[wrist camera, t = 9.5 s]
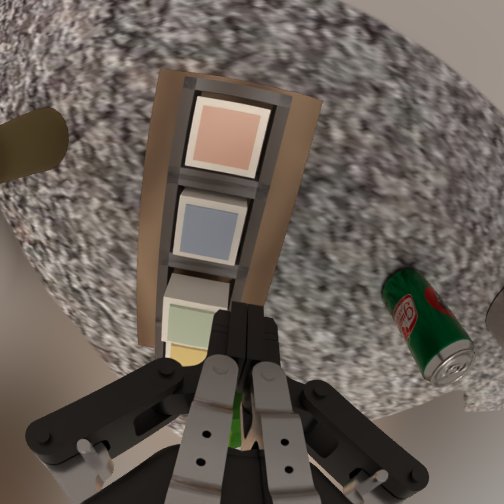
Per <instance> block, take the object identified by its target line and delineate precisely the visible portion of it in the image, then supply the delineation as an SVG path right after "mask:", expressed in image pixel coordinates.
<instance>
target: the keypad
mask: <svg viewBox="0 0 504 504" xmlns="http://www.w3.org/2000/svg"><path fill="white" fill-rule="evenodd" d="M197 96H200V97H208V98H214V99H220V100H226V101H231V102H237V103H242V104H247V105H251V106H256V107H261V108H265V109H269V110H271V111H270V115H269V119H268V123H267V127H266V131H265V136H264V140H263V144H262V148H261V152H260V156H259V161H258V165H257V169H256V173H255V177H254V178H250V177H245V176H240V175H235V174H230V173H225V172H220V171H214V170H209V169H203V168H198V167H192V166H186V165H185V160H186V154H187V149H188V143H189V137H190V132H191V127H192V121H193V116H194V111H195V106H196V101H197ZM322 102H323V100H320V99H316V98H313V97H309V96H306V95H302V94H298V93H295V92H291V91H287V90H283V89H279V88H275V87H271V86H266V85H262V84H257V83H252V82H247V81H242V80H237V79H231V78H226V77H220V76H213V75H207V74H200V73H192V72H184V71H175V70H164V69H160V73H159V78H158V82H157V87H156V93H155V98H154V103H153V109H152V115H151V121H150V128H149V134H148V141H147V148H146V156H145V164H144V173H143V183H142V193H141V205H140V218H139V234H138V257H137V333H138V345H142V346H146V347H151V348H155V360H156V359H158V358H163V357H165V355H166V342H164V341H161V338H162V315H163V298H164V294H165V291H166V288H167V286H168V283H169V280H170V278H171V275H172V273H176V274H181V275H186V276H191V277H197V278H202V279H207V280H213V281H218V282H224V283H229V295H228V308H227V311H230V306H231V302H232V301H237V302H243V303H247V304H248V303H249V304H255V305H261V306H263V307H264V304H265V301H266V298H267V294H268V291H269V288H270V285H271V281H272V278H273V275H274V272H275V268H276V265H277V262H278V258H279V255H280V252H281V248H282V245H283V242H284V238H285V235H286V232H287V228H288V225H289V221H290V218H291V214H292V211H293V208H294V204H295V201H296V197H297V194H298V190H299V187H300V183H301V180H302V176H303V172H304V169H305V165H306V162H307V158H308V154H309V151H310V147H311V143H312V140H313V136H314V132H315V129H316V125H317V121H318V117H319V114H320V110H321V106H322ZM186 186H189V187H194V188H200V189H205V190H211V191H216V192H221V193H227V194H232V195H237V196H242V197H247V212H246V216H245V220H244V225H243V229H242V233H241V238H240V242H239V247H238V251H237V255H236V260H235V264H234V266H232V265H227V264H221V263H216V262H211V261H205V260H200V259H195V258H190V257H184V256H179V255H174V254H173V248H174V239H175V231H176V223H177V215H178V207H179V200H180V195H181V193H182V192H183V190H184V189H185V187H186Z"/></svg>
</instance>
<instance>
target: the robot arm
mask: <svg viewBox="0 0 504 504" xmlns="http://www.w3.org/2000/svg"><path fill="white" fill-rule="evenodd" d="M486 325H487V327H488V329H489V330H490V331H491V333H492V334H493V335H494V337H495V338H496V340H497V341H498V342H499V344H500V345H501V347H502V348H503V350H504V289H503V290H502V291H501V292H500V293H499V295H498V296H497V297H496V299H495V300H494V302H493V303H492V305H491V307H490V309H489V312H488V314H487V318H486ZM236 387H237V393H242V402H241V405H240V421H241V439H242V444H241V450H237V449H234V448H231V447H228V443H229V436H230V430H231V423H232V417H233V402H234V395H235V391H236ZM180 414H189V415H188V418H187V422H186V426H185V430H184V433H183V437H182V441H181V444H177V445H173V446H169V447H166V448H164V449H162V450H160V451H158V452H157V453H155V454H154V455H152V456H151V457H149V458H148V459H147V460H145V461H144V462H142V463H141V464H140V465H138V466H137V467H135V468H134V469H132V470H131V471H130V472H128V473H127V474H125V475H124V476H122V477H121V478H119V479H118V480H116V481H115V482H113V483H112V484H110V485H108V486H107V487H105V488H104V489H102V486H103V483H104V482H105V481H106V480H107V479H108V478H109V477H110V476H111V475H112V473H113V470H114V465H113V461H112V459H113V458H115V457H116V456H118V455H120V454H121V453H123V452H125V451H126V450H128V449H130V448H131V447H133V446H134V445H136V444H138V443H139V442H141V441H142V440H144V439H145V438H147V437H149V436H150V435H152V434H153V433H155V432H156V431H158V430H159V429H161V428H162V427H164V426H165V425H167V424H168V423H170V422H171V421H173V420H174V419H176V418H177V417H178V416H179V415H180ZM25 437H26V442H27V444H28V446H29V447H30V448H31V450H32V451H33V452H34V453H35V455H36V456H37V458H38V459H39V460H40V461H41V462H42V463H43V464H44V465H45V466H46V467H47V468H48V469H49V470H50V472H51V473H52V475H53V476H54V478H55V479H56V481H57V482H58V484H59V485H60V487H61V488H62V490H63V491H64V493H65V494H66V495H67V497H68V498H69V499H70V501H71V502H72V503H73V504H401V503H402V502H403V501H404V500H405V499H407V498H409V497H411V496H412V495H414V494H416V493H417V492H419V491H421V490H422V489H423V488H425V487H426V485H427V484H428V481H429V474H428V471H427V469H426V468H425V466H424V465H422V464H421V463H420V462H419V461H417V460H416V459H415V458H414V457H413V456H411V455H410V454H409V453H407V451H405V450H404V449H403V448H402V447H401V446H399V445H398V444H397V443H396V442H395V441H393V440H392V439H391V438H390V437H389V436H387V435H386V434H385V433H384V432H383V431H382V430H381V429H379V428H378V427H377V426H376V425H375V424H373V423H372V422H371V421H370V420H369V419H368V418H367V417H366V416H364V415H363V414H362V413H361V412H360V411H359V410H358V409H356V408H355V407H354V406H353V405H352V404H351V403H350V402H349V401H347V400H346V399H345V398H344V397H343V396H342V395H341V394H340V393H339V392H337V391H336V390H335V389H334V388H333V387H332V386H331V385H330V384H328V383H327V382H324V381H322V380H311V381H309V382H307V383H306V385H305V384H303V383H300V382H297V381H295V380H292V379H291V378H289V377H288V376H286V374H285V372H284V370H283V369H282V368H281V365H280V352H279V342H278V329H277V325H276V323H275V322H274V320H273V318H269V317H264V308H263V306H261V305H255V304H249V303H248V304H247V303H243V302H237V301H232V302H231V306H230V311H227V310H221V309H219V310H218V311H217V312H216V313H215V314H214V316H213V321H212V327H211V333H210V339H209V345H208V351H207V356H206V358H205V359H204V360H203V361H202V362H201V363H199V364H197V365H193V366H182V365H181V364H180V363H179V362H178V361H176V360H174V359H172V358H167V357H163V358H158V359H156V360H154V361H152V362H150V363H148V364H146V365H144V366H143V367H141V368H139V369H137V370H135V371H133V372H131V373H129V374H128V375H126V376H124V377H122V378H120V379H118V380H116V381H114V382H112V383H111V384H109V385H107V386H105V387H103V388H101V389H99V390H97V391H95V392H93V393H91V394H89V395H87V396H85V397H83V398H81V399H79V400H77V401H75V402H73V403H71V404H69V405H67V406H65V407H63V408H61V409H59V410H57V411H55V412H53V413H50V414H48V415H46V416H44V417H42V418H40V419H38V420H36V421H34V422H32V423H31V424H30V425H29V426H28V428H27V430H26V435H25ZM308 454H309V455H310V456H311V457H312V458H313V459H314V460H315V461H316V462H317V463H318V464H319V465H321V467H322V468H324V469H325V470H326V471H327V472H328V473H329V474H330V475H331V476H332V477H333V478H334V479H335V480H336V481H337V482H338V483H340V484H341V485H342V486H343V493H342V492H341V491H340V490H339V489H338V488H337V487H335V485H334V484H333V483H332V482H331V481H330V480H329V479H328V478H327V477H326V476H325V475H324V474H323V473H322V472H321V471H320V470H319V469H318V468H317V467H316V466H315V465H313V464H312V463H310V462H309V459H308Z"/></svg>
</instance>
